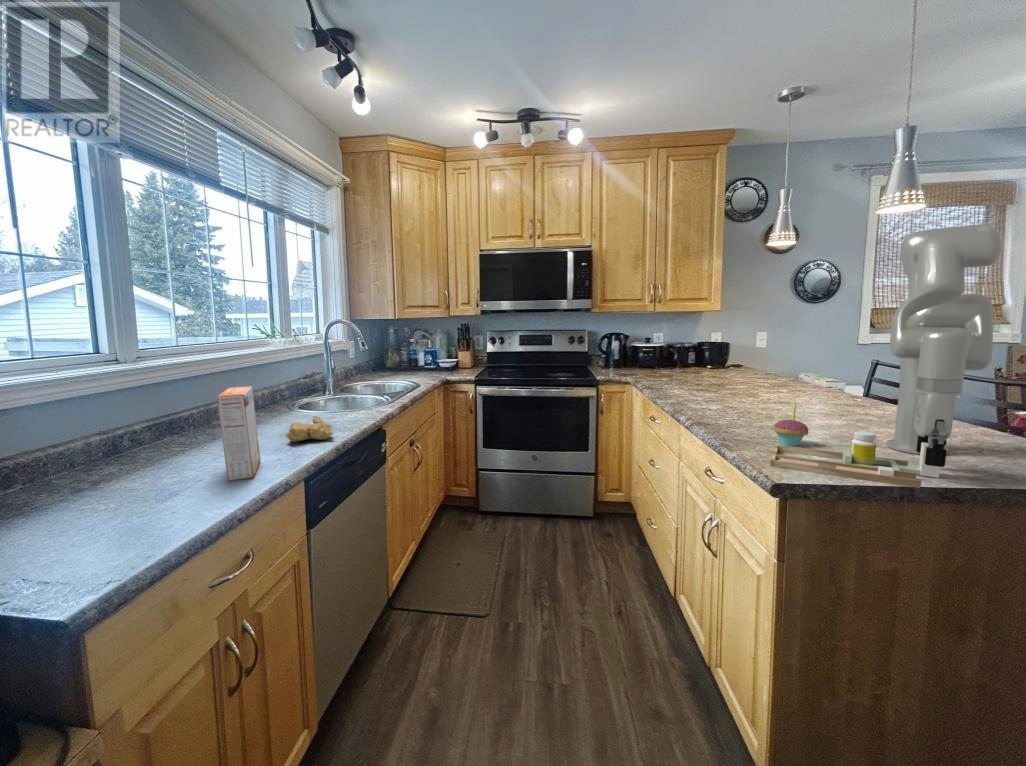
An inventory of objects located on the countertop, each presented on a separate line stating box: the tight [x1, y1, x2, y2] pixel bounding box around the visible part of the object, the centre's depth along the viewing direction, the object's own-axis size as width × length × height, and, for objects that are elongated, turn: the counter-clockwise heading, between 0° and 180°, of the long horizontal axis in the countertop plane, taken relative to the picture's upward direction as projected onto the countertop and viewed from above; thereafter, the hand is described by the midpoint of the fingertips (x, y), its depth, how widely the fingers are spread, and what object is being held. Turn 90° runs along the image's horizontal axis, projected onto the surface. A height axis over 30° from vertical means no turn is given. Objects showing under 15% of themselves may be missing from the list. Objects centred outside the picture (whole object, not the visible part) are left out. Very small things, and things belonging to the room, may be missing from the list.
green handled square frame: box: [841, 442, 941, 478], centre depth 105 cm, size 9×17×7 cm, turn 56°
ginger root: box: [285, 415, 334, 443], centre depth 142 cm, size 16×16×8 cm
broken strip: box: [780, 458, 894, 476], centre depth 105 cm, size 4×22×2 cm, turn 56°
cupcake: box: [773, 402, 809, 447], centre depth 128 cm, size 9×8×12 cm
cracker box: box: [216, 386, 261, 482], centre depth 111 cm, size 14×6×21 cm, turn 23°
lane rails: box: [769, 444, 922, 489], centre depth 109 cm, size 16×28×2 cm, turn 56°
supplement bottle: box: [850, 430, 877, 466], centre depth 108 cm, size 5×5×8 cm
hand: (929, 459), depth 102 cm, fingers open, 9 cm apart
